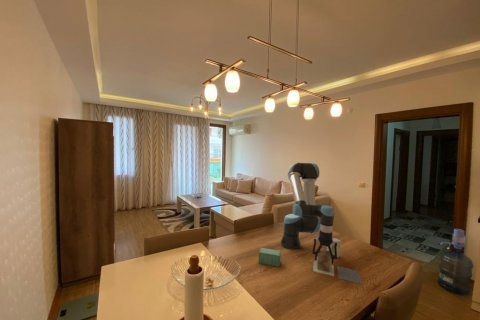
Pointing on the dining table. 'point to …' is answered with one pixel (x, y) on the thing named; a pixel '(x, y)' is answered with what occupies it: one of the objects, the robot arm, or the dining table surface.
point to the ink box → (336, 247)
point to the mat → (348, 275)
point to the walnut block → (324, 260)
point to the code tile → (323, 271)
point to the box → (269, 257)
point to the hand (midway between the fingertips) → (323, 266)
